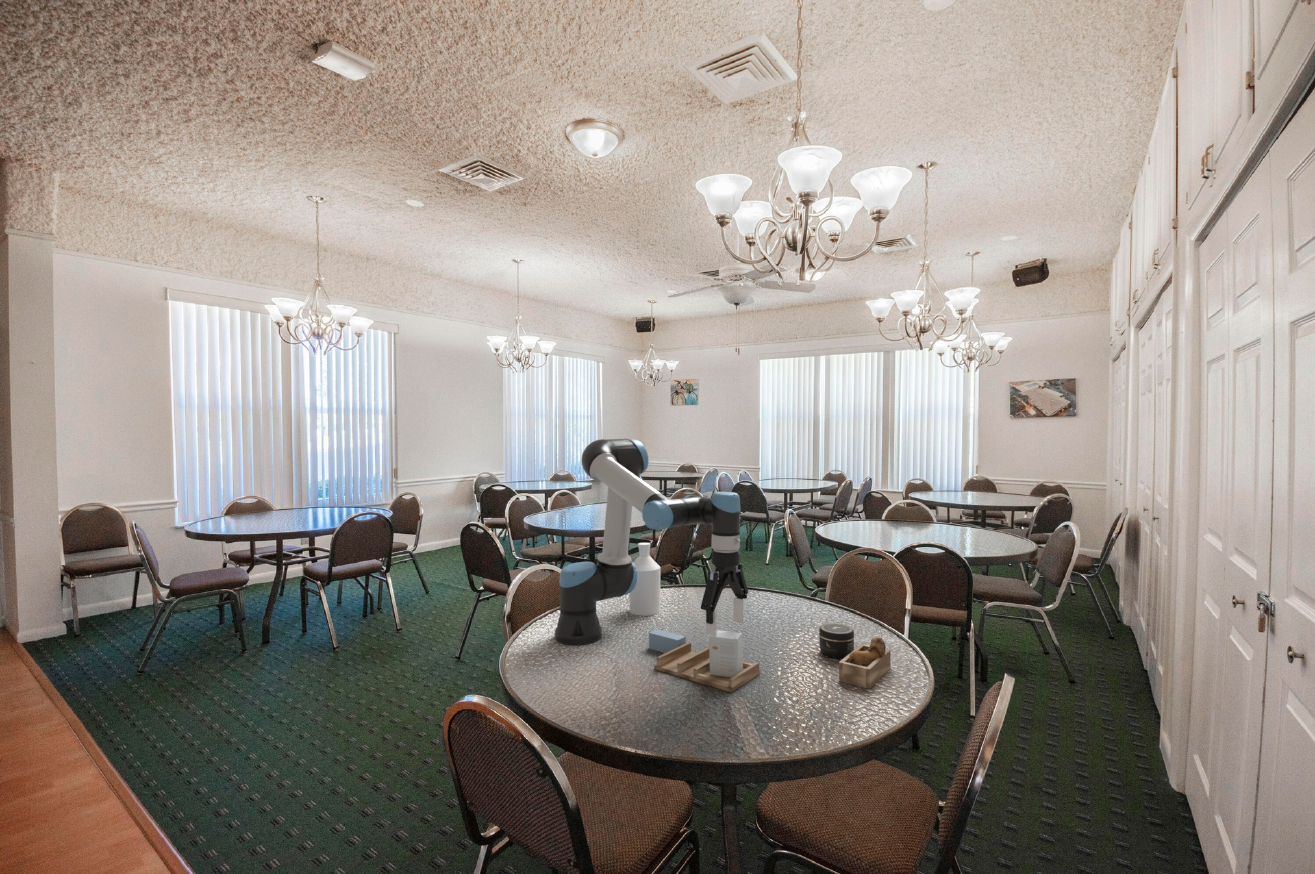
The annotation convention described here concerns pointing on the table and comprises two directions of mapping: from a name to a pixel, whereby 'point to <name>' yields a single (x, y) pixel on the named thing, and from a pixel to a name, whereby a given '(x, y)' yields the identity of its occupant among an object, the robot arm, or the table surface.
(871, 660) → the lion figurine
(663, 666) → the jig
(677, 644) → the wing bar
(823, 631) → the jar
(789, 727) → the table surface
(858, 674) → the open wooden box
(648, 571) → the bottle
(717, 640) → the small box
